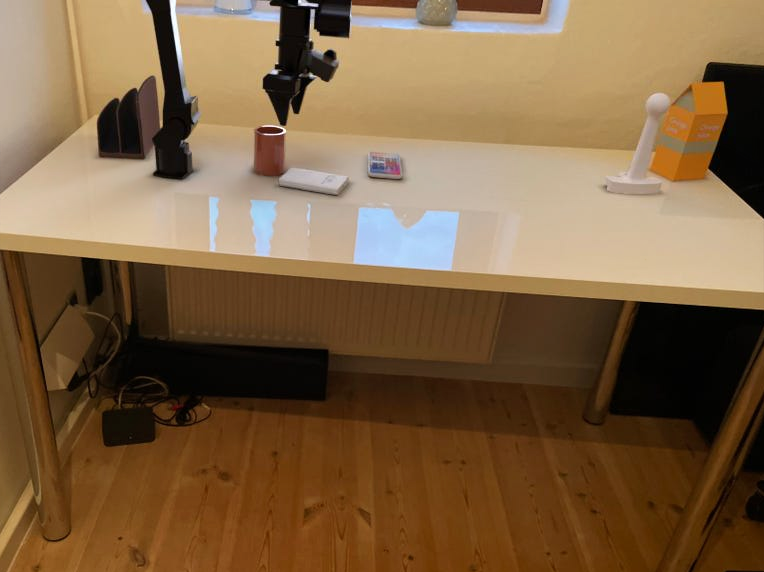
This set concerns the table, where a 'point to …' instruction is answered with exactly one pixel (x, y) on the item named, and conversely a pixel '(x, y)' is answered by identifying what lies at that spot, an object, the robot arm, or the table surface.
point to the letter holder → (129, 123)
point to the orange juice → (691, 132)
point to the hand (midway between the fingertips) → (290, 119)
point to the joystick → (642, 154)
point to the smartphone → (384, 165)
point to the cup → (269, 150)
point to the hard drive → (314, 181)
